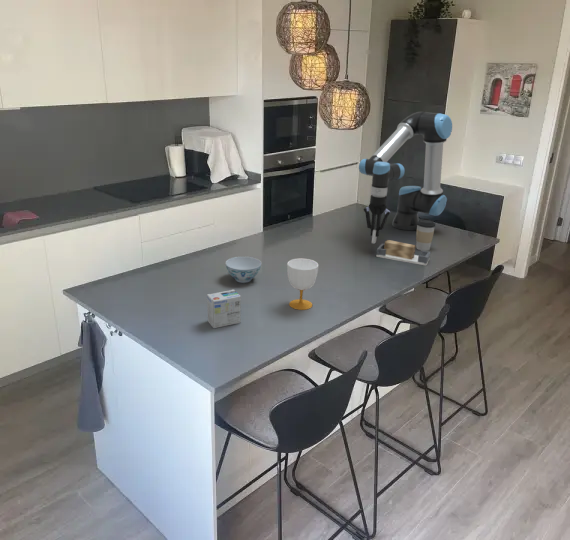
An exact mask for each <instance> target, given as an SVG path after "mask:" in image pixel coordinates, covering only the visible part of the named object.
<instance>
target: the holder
mask: <svg viewBox="0 0 570 540" xmlns="http://www.w3.org/2000/svg"><path fill="white" fill-rule="evenodd" d="M384 245H385V243H381V244H380V245H379V246H378V247H377V248H376V255H375V257H377V258H381V259H388V260H392V261H396V262H397V261H398V262H404V263H410V264H414V265H420V266H427V265H428V263H429V262H430V259H431V254H432V251H430V250H428V251H422V250H420V251H421V253H420V254H418V255H417V254H414V258H413V259H412V260H411V259H406V258H402V257H397V256H392V255H387V254H386V249H384Z"/></svg>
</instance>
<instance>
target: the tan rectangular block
mask: <svg viewBox="0 0 570 540" xmlns="http://www.w3.org/2000/svg"><path fill="white" fill-rule="evenodd" d="M384 244H385V245H384V249H386V254H387V255H392V256H397V257H402V258H406V259H411V260H412V259H413V258H414V255H416V253H415V252H416V244H410V243H405V242H401V241H395V240H390V239H387V240H385V241H384Z"/></svg>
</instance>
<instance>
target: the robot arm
mask: <svg viewBox="0 0 570 540" xmlns="http://www.w3.org/2000/svg"><path fill="white" fill-rule="evenodd" d="M452 131H453V121H452V119H451V117H450V116H449V115H448V114H443V113H440V112H428V111H417V112H413V113H411V114H410V115H408V116H406V117H405V118H404V119H403V120H401V121H400V123H399V124H397V127H396V129H395V131H394V132H393V133H391V135H390V136H389V137H388V138H387V139H386V140H385V141H384V142H383V143H382V144H381V146H380V147H379V148H378V149H377V150H376V151H375V152H374V153H373V154H372V155H371V156H370V157H369V158H363V159H361V160H360V161H359V165H358V170H359V172H360V173H361V174H362V175H366V176H370V177H372V179H371V188H370V189H371V190H370V194H371V195H370V198H369V199H370V200H369V205H368V206H367V207H366V206H365V207H364V208H363V212H364V214H365V219H366V225H367V228H368V229H370V237H371V244H376V242H377V238H378V237H379V235H380V231H383V229H384V227H385V225H386V222H387V220H388V217H389V216H390V214H391V212H392V211H391V210H389V209H388V208H387V200H388V199H387V195H388V188H389V187H388V186H389V182H391V181H398V180H399V179H402V178H403V177H404V175H405V170H406V169H405V167H404V166H403V164H401V163H398V162H397V163H395V162H394V163H389V162H388V161H389V160H390V159H391V158H392V157H393V156H394V155H395V154H396V152H397V151H398V150H399V149H401V147H402V146H403V145H404V144H405V143H406V142H407V141H408V140H410V139H412V138H413V137H415V136H417V135H419V136H422V138H423V139H422V141H423V143H425V153H424V154H425V155H424V158H425V159H424V171H423V172H424V175H423V187H422V186H418V185H407V186H406V185H405V186H401V188H400V189H399V192H398V199H397V209H396V214H395V216H394V217H393V220H392V222H391V223H392V225H391V226H392V227H393V228H395V229H398V230H402V231H415V230H416V231H417V222H418V221H420V219H419V214H418V213H423V214H426V215H429V216H437V217H438V216H440V215H441V214H442V213H443V212H444V210H445V208H446V205H447V201H448V198H447V196H446V195H445V194H443V193H444V189H443V188H442V187H441V182H442V181H441V180H442V169H443V167H442V165H443V151H444V144H445V143H446V142H447V139H449V138H450V136H451V134H452ZM370 212H371V215H370ZM383 214H385V215H384V216H383V219H381V218H382V215H383ZM381 220H382V221H381ZM375 227H376V228H375Z"/></svg>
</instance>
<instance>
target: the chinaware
mask: <svg viewBox="0 0 570 540" xmlns="http://www.w3.org/2000/svg"><path fill="white" fill-rule="evenodd" d="M261 267H262V261H261V260H260V259H258V258H255V257H252V256H234V257H230V258H228V259H227V260H226V261H225V268H226V271H227V273H228V275H230V276H231V277H232V278H233V279H235V281H236V282H238V283H240V284H241V283H243V284H245V283H249V282H251V281H252V279H254V278H255V277H256V276H257V275H258V273H259V272H260V271H261Z"/></svg>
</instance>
